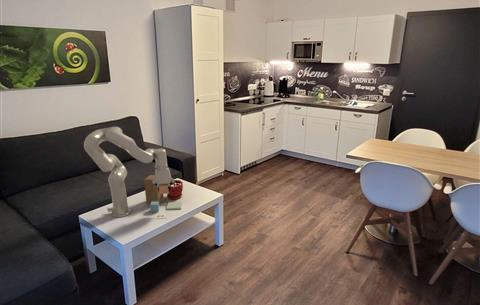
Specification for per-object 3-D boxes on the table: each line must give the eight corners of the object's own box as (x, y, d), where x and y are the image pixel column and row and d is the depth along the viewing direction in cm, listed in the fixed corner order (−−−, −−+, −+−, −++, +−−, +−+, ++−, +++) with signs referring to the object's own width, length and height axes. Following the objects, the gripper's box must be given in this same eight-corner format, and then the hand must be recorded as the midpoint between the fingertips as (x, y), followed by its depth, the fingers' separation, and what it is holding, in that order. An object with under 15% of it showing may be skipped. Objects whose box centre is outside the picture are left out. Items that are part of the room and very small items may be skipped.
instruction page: (154, 218, 212) (154, 218, 212) (155, 214, 218) (155, 214, 217) (166, 218, 213) (166, 217, 213) (167, 213, 218) (167, 213, 218)
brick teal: (151, 212, 221) (150, 204, 219) (152, 209, 225) (151, 201, 223) (158, 212, 221) (157, 204, 219) (159, 208, 226) (158, 201, 224)
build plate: (166, 210, 224) (166, 208, 224) (168, 203, 233) (168, 202, 233) (180, 209, 225) (180, 207, 225) (181, 202, 234) (181, 201, 234)
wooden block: (158, 205, 231) (156, 180, 225) (146, 204, 233) (143, 179, 227) (164, 199, 240) (162, 175, 234) (152, 198, 242) (149, 174, 236)
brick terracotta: (159, 194, 215) (158, 186, 213) (161, 190, 221) (160, 182, 219) (168, 193, 216) (167, 185, 214) (169, 190, 221) (168, 182, 220)
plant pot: (163, 199, 240) (162, 185, 237) (171, 192, 252) (170, 178, 249) (178, 201, 236) (177, 187, 233) (186, 194, 248) (185, 180, 245)
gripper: (147, 169, 209) (151, 194, 214) (174, 168, 210) (176, 192, 215) (150, 165, 216) (153, 189, 221) (175, 164, 217) (177, 188, 222)
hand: (164, 191), depth 218 cm, fingers closed on brick terracotta, 6 cm apart
